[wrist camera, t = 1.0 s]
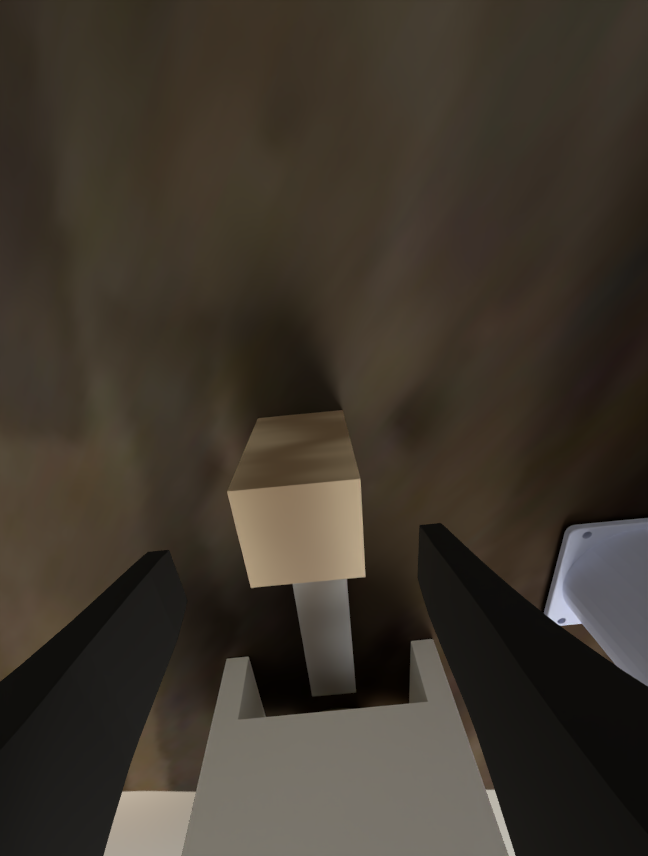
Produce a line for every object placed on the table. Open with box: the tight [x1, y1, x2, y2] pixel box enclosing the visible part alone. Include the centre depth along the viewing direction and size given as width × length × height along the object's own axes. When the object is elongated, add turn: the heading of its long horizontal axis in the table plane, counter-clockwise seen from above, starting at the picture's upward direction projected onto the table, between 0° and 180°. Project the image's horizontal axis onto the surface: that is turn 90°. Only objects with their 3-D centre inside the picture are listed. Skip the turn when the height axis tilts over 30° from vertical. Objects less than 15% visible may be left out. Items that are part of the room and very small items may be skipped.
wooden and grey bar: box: [227, 410, 365, 696], centre depth 16 cm, size 4×20×6 cm, turn 5°
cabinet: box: [182, 639, 508, 856], centre depth 19 cm, size 14×10×10 cm
